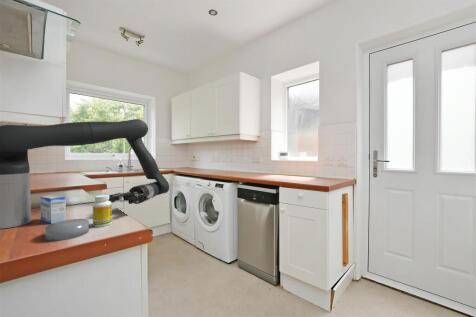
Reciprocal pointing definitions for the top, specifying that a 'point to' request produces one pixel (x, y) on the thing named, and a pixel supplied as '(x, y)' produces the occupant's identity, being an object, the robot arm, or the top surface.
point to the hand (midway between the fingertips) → (118, 201)
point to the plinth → (66, 229)
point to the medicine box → (53, 209)
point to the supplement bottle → (102, 211)
